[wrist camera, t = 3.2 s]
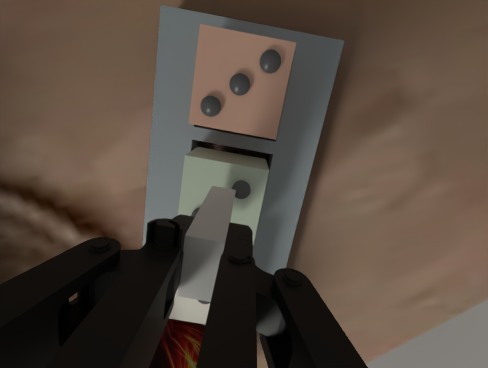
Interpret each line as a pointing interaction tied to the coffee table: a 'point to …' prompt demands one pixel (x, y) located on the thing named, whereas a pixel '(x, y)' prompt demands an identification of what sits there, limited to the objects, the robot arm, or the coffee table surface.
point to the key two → (224, 183)
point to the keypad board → (281, 150)
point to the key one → (190, 310)
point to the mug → (178, 345)
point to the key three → (240, 81)
